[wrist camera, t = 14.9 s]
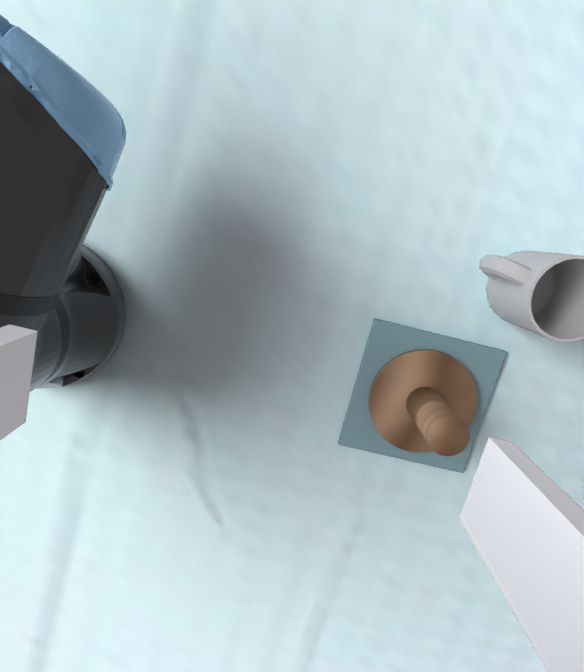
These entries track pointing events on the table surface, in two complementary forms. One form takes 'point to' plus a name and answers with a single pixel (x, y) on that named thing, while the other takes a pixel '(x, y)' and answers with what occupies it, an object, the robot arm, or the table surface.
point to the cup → (538, 292)
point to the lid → (424, 402)
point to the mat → (386, 346)
